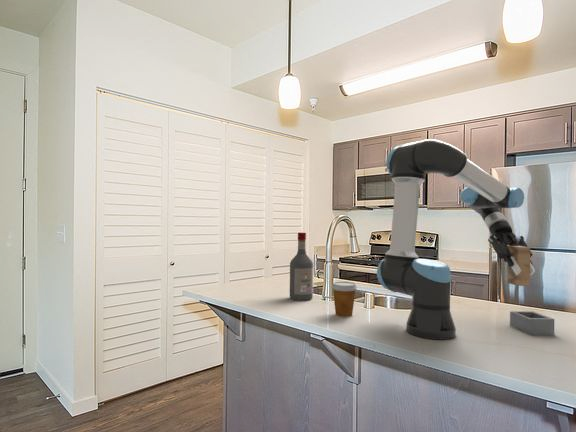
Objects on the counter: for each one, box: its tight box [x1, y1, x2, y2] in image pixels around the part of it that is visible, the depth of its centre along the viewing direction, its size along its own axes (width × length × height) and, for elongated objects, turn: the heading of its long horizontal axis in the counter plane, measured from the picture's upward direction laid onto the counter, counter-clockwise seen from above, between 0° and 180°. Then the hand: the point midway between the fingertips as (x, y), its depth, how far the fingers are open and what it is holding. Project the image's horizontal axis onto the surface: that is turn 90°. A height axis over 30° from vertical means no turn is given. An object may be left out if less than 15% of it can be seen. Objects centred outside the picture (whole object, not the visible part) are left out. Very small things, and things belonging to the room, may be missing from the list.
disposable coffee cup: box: [331, 281, 358, 318], centre depth 144 cm, size 10×10×12 cm
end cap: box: [509, 310, 555, 336], centre depth 128 cm, size 10×8×5 cm
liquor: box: [289, 232, 314, 302], centre depth 171 cm, size 9×9×30 cm
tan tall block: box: [506, 245, 531, 287], centre depth 139 cm, size 6×4×14 cm
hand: (525, 272), depth 136 cm, fingers closed on tan tall block, 4 cm apart
